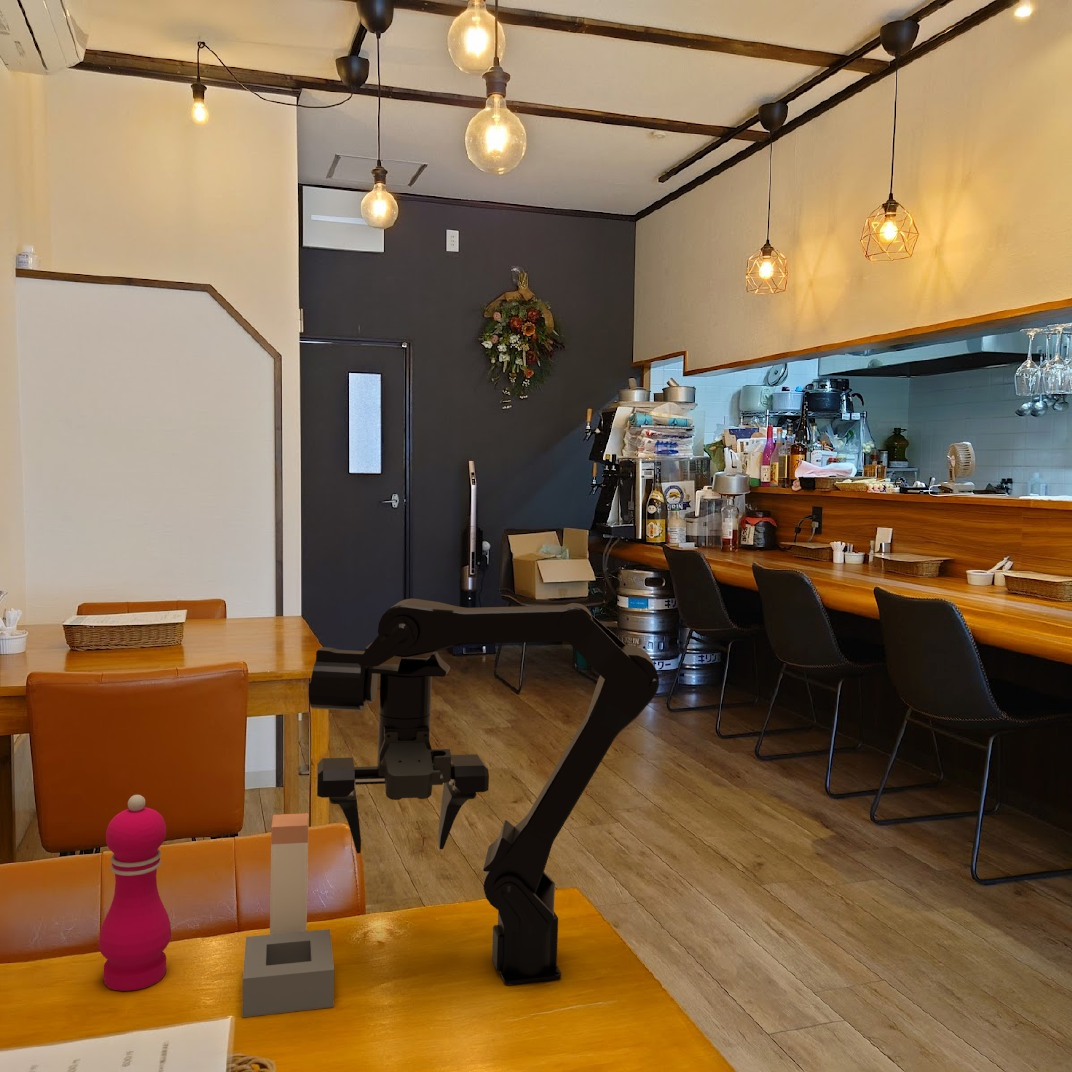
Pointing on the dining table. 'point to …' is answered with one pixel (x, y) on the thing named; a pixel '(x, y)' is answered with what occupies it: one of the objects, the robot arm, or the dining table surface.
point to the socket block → (288, 973)
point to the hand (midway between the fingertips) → (400, 850)
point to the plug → (289, 873)
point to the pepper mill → (135, 901)
